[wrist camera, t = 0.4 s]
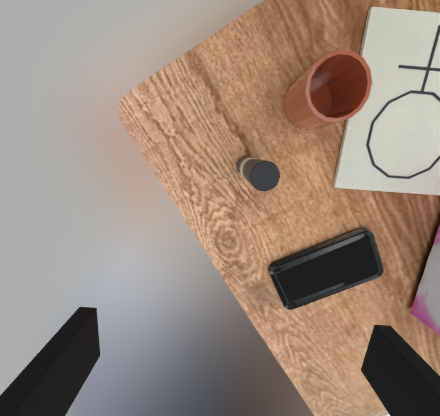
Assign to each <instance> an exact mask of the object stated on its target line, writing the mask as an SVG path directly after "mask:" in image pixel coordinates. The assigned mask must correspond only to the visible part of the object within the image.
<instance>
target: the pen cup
mask: <svg viewBox="0 0 440 416" xmlns="http://www.w3.org/2000/svg"><path fill="white" fill-rule="evenodd" d="M371 86H372V78H371V71H370V67H369V66H368V64H367V63H366V61H365V59H364V58H363V57H362V56H361V55H359V54H357V53H356V52H354V51H353V50H344V49H338V50H335V51H332V52H329V53H327V54H325V55H324V56H322V57H321V58H320V59H319V60H318V61H317V62H316V63H315V64H314V65H312V66H311V67H310V68H309V69H308V70H307V71H306V72H305V73H304V74H303V75H302V76H301V77H299V78H298V79H297V80H296V81H295V82H294V83H293V84H292V85H291V87H290V88H289V89H288V91H287V93H286V96H285V100H284V111H285V114H286V117H287V119H288V120H289V121H290V123H291V124H293V125H294V126H296V127H298V128H300V129H313V128H318V127H322V126H326V125H330V124H334V123H338V122H341V121H344V120H347V119H350V118H351V117H353V116H354V115H355V114H356V113H358V112H359V111H360V110H361V109H362V107H363V106H364V104H365V103H366V101H367V99H368V98H369V95H370V90H371Z"/></svg>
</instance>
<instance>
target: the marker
mask: <svg viewBox="0 0 440 416" xmlns="http://www.w3.org/2000/svg"><path fill="white" fill-rule="evenodd" d="M237 170H238V171H239V172H240V173H241V175H242V176H243V177H244V178H245V179H246V180H247V181H249V182H250V183H251V184H252V185H253V186H254V187H255V188H256V189H258V190H260V191H268V190H271V189H272V188H274V187H275V186H276V185H277V183H278V181H279V178H280V173H279V169H278V167H277V166H276V165H275V164H274V163H272V162H269V161H265V160H260V159H257V158H249V157H242V158H240V159H239V160H238V162H237Z"/></svg>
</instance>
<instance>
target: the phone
mask: <svg viewBox="0 0 440 416" xmlns="http://www.w3.org/2000/svg"><path fill="white" fill-rule="evenodd" d="M268 270H269V273H270V276H271V278H272V280H273V283H274V285H275V287H276V289H277V292H278V294H279V296H280V299H281V301H282V303H283V305H284V307H285V308H286V309H289V310H292V309H295V308H298V307H301V306H303V305H306V304H309V303H311V302H314V301H317V300H319V299H322V298H325V297H328V296H330V295H333V294H336V293H338V292H341V291H344V290H346V289H349V288H352V287H355V286H357V285H360V284H363V283H365V282H368V281H371V280H373V279H376V278H378V277H380V276H381V275H382V274H383V266H382V262H381V259H380V255H379V252H378V249H377V245H376V242H375V238H374V235H373V233H372V232H370V231H368V230H366V229H364V228H360V229H357V230H354V231H351V232H349V233H346V234H344V235H341V236H339V237H336V238H334V239H331V240H329V241H326V242H324V243H321V244H319V245H316V246H314V247H311V248H309V249H306V250H304V251H301V252H299V253H296V254H294V255H291V256H289V257H286V258H284V259H281V260H278V261H276V262H273V263H272V264H271V265H270V266H269V269H268Z"/></svg>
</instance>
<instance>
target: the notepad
mask: <svg viewBox="0 0 440 416" xmlns="http://www.w3.org/2000/svg"><path fill="white" fill-rule="evenodd" d="M359 55H361V56H362V57H363V58H364V59H365V61H366V63H367V64H368V66H369V67H370V71H371V78H372V86H371V90H370V95H369V98H368V99H367V101H366V103H365V104H364V106H363V107H362V109H361V110H360V111H359V112H358V113H356V114H355V115H354V116H353V117H351V118H350V119H347V120H346V123H345V128H344V133H343V138H342V143H341V148H340V153H339V158H338V163H337V168H336V173H335V178H334V183H333V187H334V188H344V189H357V190H371V191H385V192H399V193H413V194H427V195H440V13H437V12H426V11H415V10H404V9H393V8H382V7H371V8H370V9H369V10H368V14H367V19H366V24H365V29H364V34H363V39H362V44H361V49H360V54H359Z"/></svg>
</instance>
